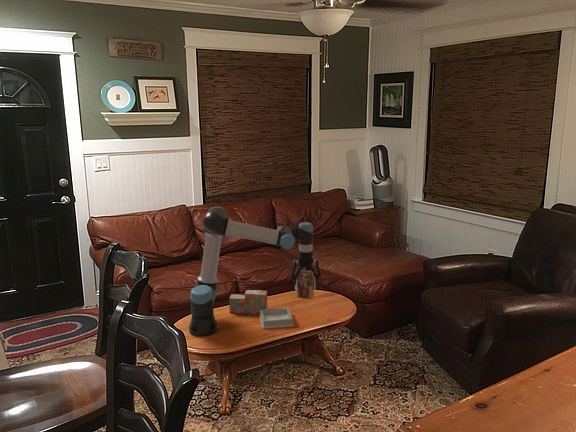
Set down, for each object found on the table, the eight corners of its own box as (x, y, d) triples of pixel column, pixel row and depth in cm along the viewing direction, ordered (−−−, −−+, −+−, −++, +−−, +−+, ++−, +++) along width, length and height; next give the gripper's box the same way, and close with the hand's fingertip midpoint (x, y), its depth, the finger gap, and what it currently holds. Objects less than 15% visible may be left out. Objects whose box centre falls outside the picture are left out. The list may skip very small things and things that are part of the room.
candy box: (314, 296, 279) (314, 270, 276) (311, 299, 275) (312, 273, 272) (298, 294, 282) (299, 269, 279) (296, 297, 278) (296, 271, 275)
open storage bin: (262, 328, 269) (262, 321, 268) (259, 315, 286) (259, 309, 285) (293, 326, 272) (293, 319, 271) (288, 313, 288) (288, 306, 287)
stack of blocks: (229, 313, 290) (228, 293, 287) (231, 308, 296) (231, 289, 293) (266, 314, 288) (265, 294, 285) (267, 310, 294) (267, 290, 291)
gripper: (286, 253, 267) (286, 293, 272) (327, 251, 271) (326, 290, 276) (284, 249, 275) (284, 288, 279) (323, 247, 278) (323, 285, 283)
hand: (305, 289), depth 278 cm, fingers closed on candy box, 9 cm apart
